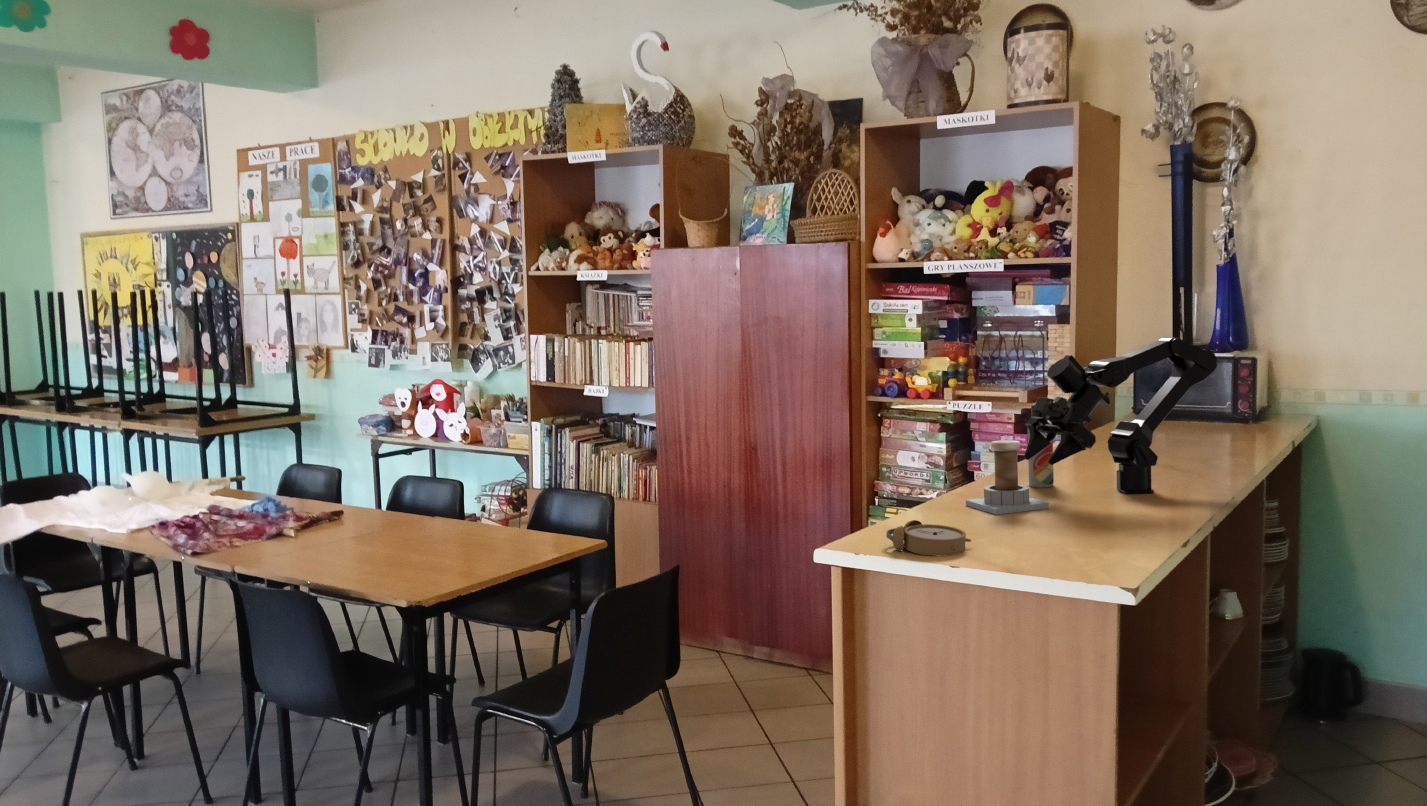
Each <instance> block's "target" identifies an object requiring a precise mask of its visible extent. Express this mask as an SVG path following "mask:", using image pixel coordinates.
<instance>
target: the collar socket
mask: <svg viewBox="0 0 1427 806" xmlns="http://www.w3.org/2000/svg"><path fill="white" fill-rule="evenodd" d="M965 506H967V507H970V508H974V509H977V510H979V511H981V512H982V511H983V512H986V513H990V514H993V515H995V516H996V515H1002V514H1010V513H1011V514H1012V513H1021V512H1028V511H1038V510H1044V509H1045V510H1046V509H1049V508H1050V504H1049V502H1048V501H1044V500H1040V499H1036V498H1032V497H1030V487H1029V486H1028V485H1024V484H1020V483H1018V490H1012V491H1000V490H995V484H989V485H986V486H983V497H982V498H974V499H973V498H971V499H966V500H965Z"/></svg>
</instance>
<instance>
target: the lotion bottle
mask: <svg viewBox="0 0 1427 806" xmlns="http://www.w3.org/2000/svg"><path fill="white" fill-rule="evenodd" d="M1035 404H1036V402H1035V403H1032V404H1031V406H1030V410H1031V411H1030V414H1031V416H1030V417H1041V418H1044V419H1045V420H1046V421H1047V422H1048V423H1049V424H1050V425H1052V422H1051V421H1049V420H1048V419H1047V418H1046V417H1047V415H1045V414H1043V413H1040V412H1036V411H1034V407H1035ZM1029 439H1030V431H1029V430H1028V429H1027V444H1028V443H1029ZM1050 443H1051V444H1049V445H1048V446H1047V447H1045V448H1044V449H1043V450H1041V451H1040V452H1039V453H1037V454H1036V455H1035V456H1033V457H1032V458H1030V459H1029V460H1027V462H1028V483H1029V484H1028V485H1029V486H1030V487H1032V488H1051V487H1053V486H1054V485H1055V484H1054V481H1055V480H1054V479H1055V478H1054V473H1055V472H1054V464H1053V465H1050V464H1049V463H1048V461H1049V459H1050V457H1051V455H1052V454H1053V452H1054V439H1053V440H1051V441H1050Z"/></svg>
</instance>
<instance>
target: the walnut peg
mask: <svg viewBox="0 0 1427 806" xmlns="http://www.w3.org/2000/svg"><path fill="white" fill-rule="evenodd" d="M990 446H991V451H993V453H994V455H993V456H994V457H993V458H994V485H995V490H1000V491H1012V490H1018V484H1019V479H1018V478H1019V476H1018V475H1019V474H1018V473H1019V469H1018V451H1020V450H1021V441H1019V440H1011V439H1010V440H1009V439H1001V440H993V441H991V442H990Z"/></svg>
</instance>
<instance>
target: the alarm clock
mask: <svg viewBox="0 0 1427 806" xmlns="http://www.w3.org/2000/svg"><path fill="white" fill-rule="evenodd" d="M886 539H888V540H890V541H891V542H892V545H893V547H894V549H895V550H896V551H898V550H903V551H904V549H905V550H907V551H908V552H911V553H914V554H918V555H922V556H930V555H941V556H940V557H944V555H947V556H953V555H958V554H961V553H962V552H964V551H965V550H966V543H969V542H970V543H971V542H972V539H971V538H967V533H966V531H964V530H962V529H960V528H957V527H954V526H949V525H943V524H928V523H926V524H923V523H922V522H921V521H919V520H914V519H913V520H912V519H911V520H909V521H908V522H906V523H905V524H904V526H903V525H900V526H897V527H896V528H894V527H893V528H889V529H888V530H886Z"/></svg>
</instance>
